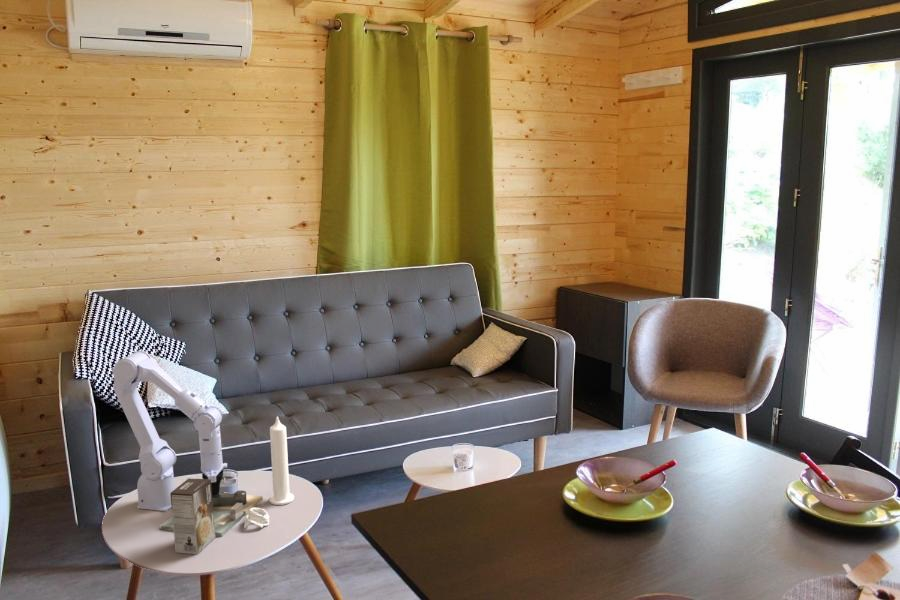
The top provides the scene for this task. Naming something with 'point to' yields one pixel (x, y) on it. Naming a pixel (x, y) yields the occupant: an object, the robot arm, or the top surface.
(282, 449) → the candle
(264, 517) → the white curved piece
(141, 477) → the robot arm
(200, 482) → the coffee box
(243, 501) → the bar
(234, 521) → the door and jamb
